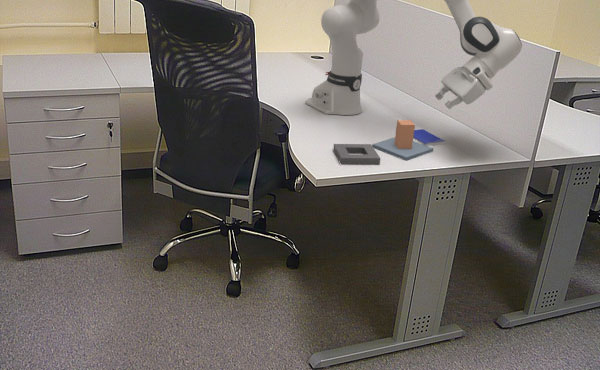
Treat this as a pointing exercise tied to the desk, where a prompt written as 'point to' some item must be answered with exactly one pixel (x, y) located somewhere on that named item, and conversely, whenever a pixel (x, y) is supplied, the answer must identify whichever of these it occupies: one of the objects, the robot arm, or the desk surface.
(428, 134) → the hard drive
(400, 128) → the terracotta block
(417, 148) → the slate mat
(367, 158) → the pocket holder
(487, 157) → the desk surface
